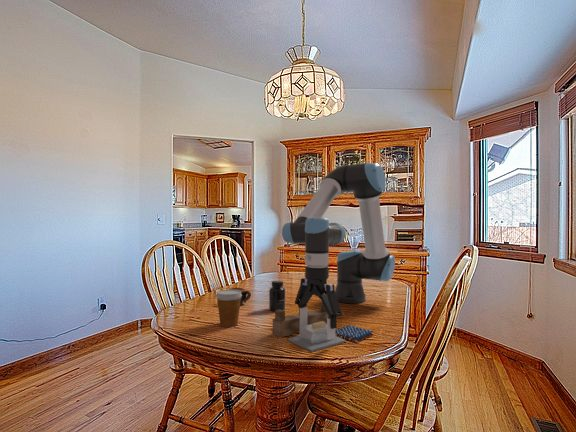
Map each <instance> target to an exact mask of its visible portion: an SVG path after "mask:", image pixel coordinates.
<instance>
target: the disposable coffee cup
mask: <svg viewBox="0 0 576 432" xmlns="http://www.w3.org/2000/svg"><path fill="white" fill-rule="evenodd" d="M241 296H242V294H241V291H239V290H232V288H228V289H222V290H218V291H217V292H216V295H215V297H216V301H217V307H218V317H219V324H220V326H221V327H224V328H231V327H236V326H237V325H238V324H239V315H240V307H241V305H240V300H241Z"/></svg>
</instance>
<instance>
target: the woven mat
mask: <svg viewBox="0 0 576 432" xmlns="http://www.w3.org/2000/svg"><path fill="white" fill-rule="evenodd" d="M373 335H374V330H370V329H366V328H361V327H359V326H357V327H356V326H354V325H350V324H349V325H346V326H343V327H341V328H338V329H335V336H337V337H339V338H342V339H343V337H344V340H347V339H348V341H352V342H354V343H358V342H361V341H363V340H366V339H367V338H369V337H371V336H373ZM345 338H346V339H345Z"/></svg>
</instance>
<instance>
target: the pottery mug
mask: <svg viewBox="0 0 576 432" xmlns="http://www.w3.org/2000/svg"><path fill="white" fill-rule="evenodd" d="M231 289H232V290H239V291H241V294H242V296H241V300H240V306H243V305H244V303H245V304H246V303H247V301H249V300H250V298H251V296H252V293H251V291H249V290H245V289H244V288H242V287H232V288H231Z"/></svg>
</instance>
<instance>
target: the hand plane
mask: <svg viewBox="0 0 576 432" xmlns="http://www.w3.org/2000/svg"><path fill="white" fill-rule="evenodd" d="M319 305H320V309H316V310H311V311H308V312H307V325H310V324H313V323H317V322H321V321H323V322H326V324H327V318H328V317H329V315H328V313H327V311H326V309H325V307H324V305H323V303H322V301H320V304H319ZM332 314H333V313H332ZM294 334H295V335H296V334H300V316H299V313H295V314H289V315H286V311H285V310H280V309H279V310H275V311H274V318H272V335H274V336H276V337H278V338H283V337H287V336H291V335H294Z"/></svg>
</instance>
